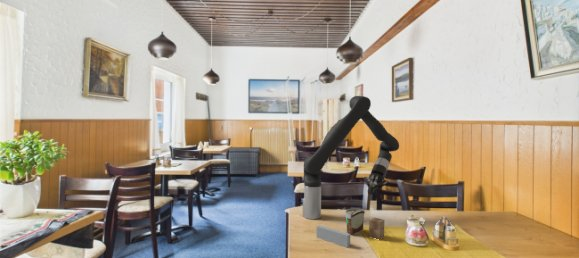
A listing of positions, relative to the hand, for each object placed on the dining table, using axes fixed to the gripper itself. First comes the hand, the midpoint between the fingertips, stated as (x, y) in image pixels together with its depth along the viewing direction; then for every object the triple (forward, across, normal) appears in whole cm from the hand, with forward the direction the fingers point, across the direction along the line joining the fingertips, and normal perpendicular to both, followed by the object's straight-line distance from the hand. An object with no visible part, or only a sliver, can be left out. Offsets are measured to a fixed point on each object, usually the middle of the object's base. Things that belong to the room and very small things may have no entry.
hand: (369, 193), depth 155 cm
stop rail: (+35, 0, -14) cm, 37 cm away
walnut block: (+22, +12, -1) cm, 25 cm away
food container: (+23, 0, -2) cm, 23 cm away
